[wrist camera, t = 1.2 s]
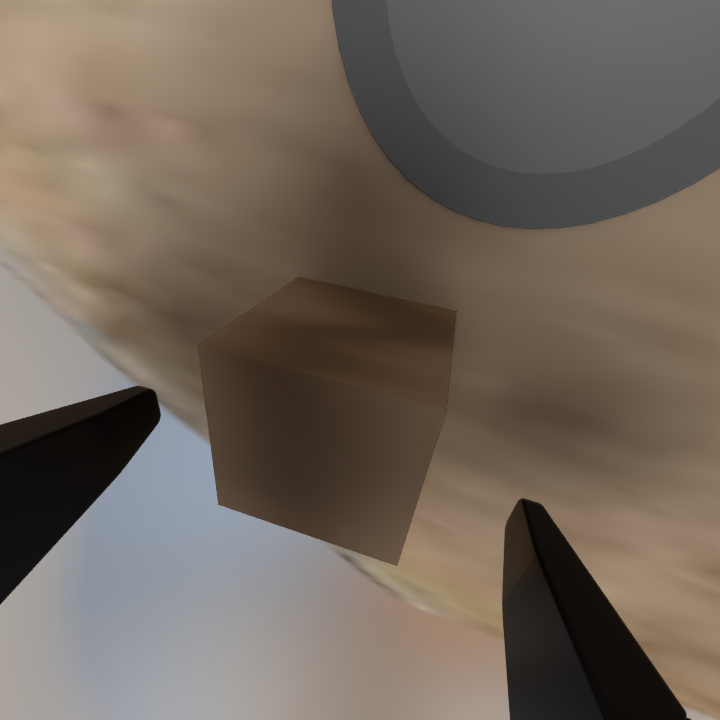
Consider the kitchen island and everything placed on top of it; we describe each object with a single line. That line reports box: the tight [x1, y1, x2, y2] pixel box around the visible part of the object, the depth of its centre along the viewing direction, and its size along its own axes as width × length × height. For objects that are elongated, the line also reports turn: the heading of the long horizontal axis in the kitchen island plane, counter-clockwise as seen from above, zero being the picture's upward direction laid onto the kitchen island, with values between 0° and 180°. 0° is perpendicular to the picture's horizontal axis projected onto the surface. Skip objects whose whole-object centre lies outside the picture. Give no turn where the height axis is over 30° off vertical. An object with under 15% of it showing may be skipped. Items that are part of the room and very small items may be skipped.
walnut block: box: [198, 277, 457, 566], centre depth 10 cm, size 5×5×5 cm
